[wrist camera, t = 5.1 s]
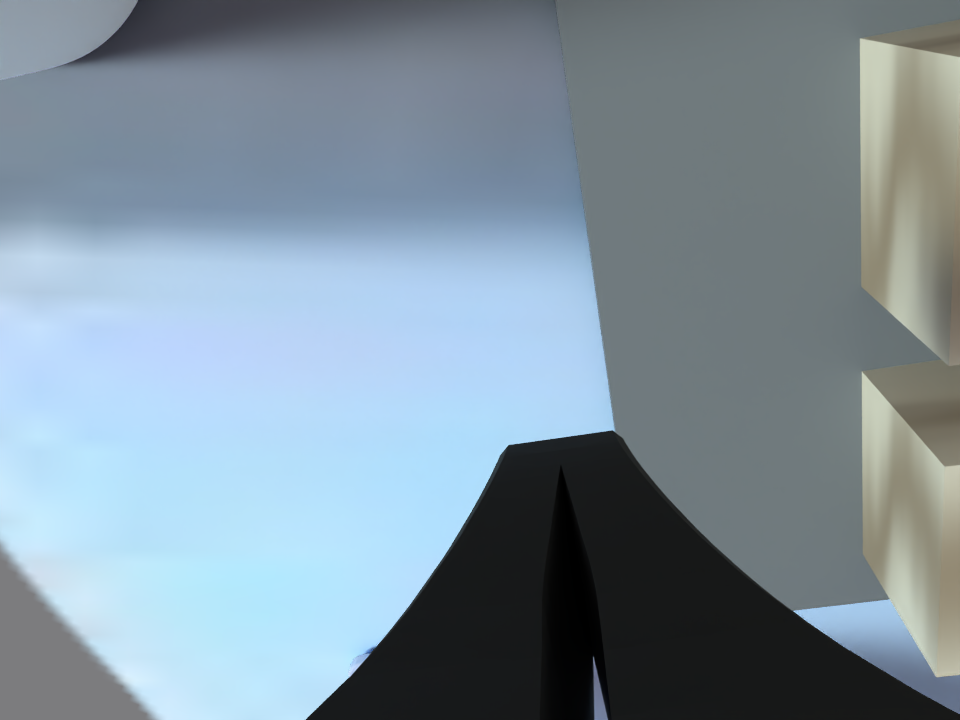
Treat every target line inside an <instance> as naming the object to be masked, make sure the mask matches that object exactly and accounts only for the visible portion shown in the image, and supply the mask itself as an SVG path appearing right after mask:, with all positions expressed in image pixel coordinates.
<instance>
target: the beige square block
mask: <svg viewBox="0 0 960 720" xmlns="http://www.w3.org/2000/svg"><path fill="white" fill-rule="evenodd" d="M862 493H863V555H864V557H865V559H866V560H867V562H868V564H869V565H870V567H871V569H872V570H873V572H874V574H875V575H876V577H877V579H878V580H879V582H880V584H881V585H882V587H883V589H884V590H885V592H886V594H887V595H888V597H889V599H890V600H891V602H892V604H893V605H894V607H895V609H896V610H897V612H898V614H899V616H900V617H901V619H902V621H903V622H904V624H905V626H906V627H907V629H908V631H909V632H910V634H911V636H912V637H913V639H914V641H915V642H916V644H917V646H918V647H919V649H920V651H921V652H922V654H923V656H924V657H925V659H926V661H927V662H928V664H929V666H930V667H931V669H932V671H933V672H934V674H935V676H936V677H945V676H954V675H960V365H954V366H948V365H947V364H946V363H945V362H944V361H943V360H935V361H928V362H922V363H915V364H908V365H901V366H894V367H887V368H881V369H874V370H867V371H862Z"/></svg>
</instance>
